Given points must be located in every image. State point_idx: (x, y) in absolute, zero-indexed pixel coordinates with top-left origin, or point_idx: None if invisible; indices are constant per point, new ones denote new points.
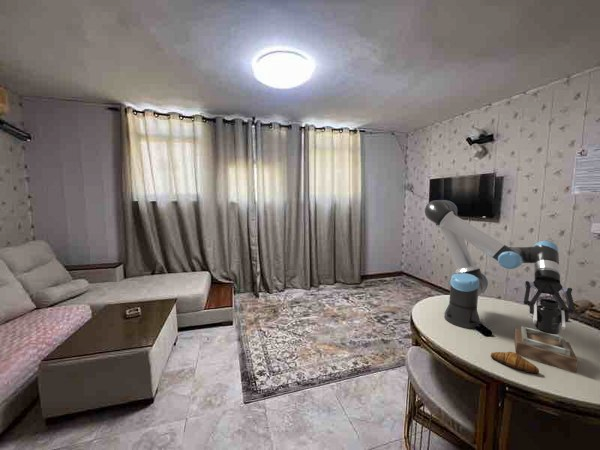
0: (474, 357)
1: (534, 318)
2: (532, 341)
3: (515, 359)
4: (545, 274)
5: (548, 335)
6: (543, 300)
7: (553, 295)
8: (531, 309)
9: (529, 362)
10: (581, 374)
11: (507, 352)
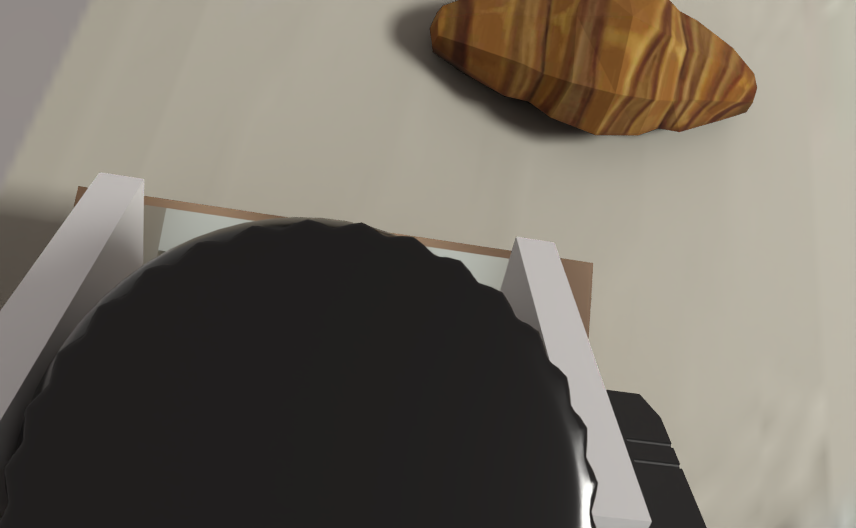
0: (838, 43)
1: (557, 259)
2: (471, 254)
3: None
4: None
5: None
6: (526, 439)
7: None
8: (645, 443)
9: (505, 29)
10: None
11: (666, 76)
